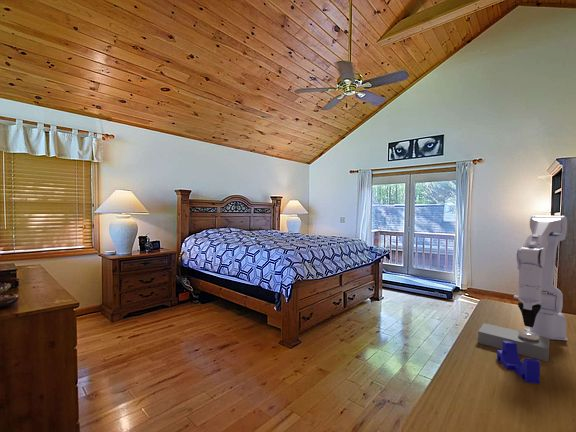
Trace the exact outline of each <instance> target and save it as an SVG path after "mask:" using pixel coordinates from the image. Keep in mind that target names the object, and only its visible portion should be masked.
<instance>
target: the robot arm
mask: <svg viewBox="0 0 576 432" xmlns="http://www.w3.org/2000/svg"><path fill="white" fill-rule="evenodd" d="M529 229H530V232H531V235H529V236H527V238H526V240H525V242H524V244H523V246H522V247H521V248H518V249H517V252H516V263H517V269H518V293H517V294H518V295H516V294H514V295H513V299H517V300H518V304H517V307H518V309H519V310H520V312H521V316H522V320H523V325H524V326H525V328H523V331H530V332H533V333H536V334H538V335H539V336H542V337H547V338H549V340H555V341H556V340H557V341H568V338H567V320H566V316H565V315H564V314H563V313H562V311H563V305H564V302H563V301H564V299H563V298H564V297H563V296H564V295H563V292H562V291H561V290H560V289H559V288H557V286H555V285H554V279H555V278H554V277H555V270H556V259H557V258H556V257H557V248H558V245H559V242H561V241H565V240H566V237H567V232H568V231H567V230H568V218H567V216H565V215H535V214H533V215H531V216H530V219H529ZM527 327H529V328H527Z"/></svg>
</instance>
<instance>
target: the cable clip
mask: <svg viewBox="0 0 576 432" xmlns="http://www.w3.org/2000/svg"><path fill="white" fill-rule="evenodd" d="M519 355H520V354H518V352H517V344H516V343H515V342H513V341H503V349H496V360H497V361H498V362H499V363H500V364H501V365H502V366H503V367H504V368H505V369H506V370H508V371H514V372H515V373H516V374H517V375H518V376H519V377H520V378H521V379H522V380H524V382H525V383H528V384H538V385H540V375H541V374H540V371H541V363H540V361H539V359H536V358H529V357H523V361H522V360H521V358H520V356H519Z"/></svg>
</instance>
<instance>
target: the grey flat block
mask: <svg viewBox="0 0 576 432" xmlns="http://www.w3.org/2000/svg"><path fill="white" fill-rule="evenodd" d="M519 331H520V330H516V329H511V328H507V327H502V326H499V325H494V324H489V323H483V324H482V325H481V327H480V328H479V329H478V331H477V333H478V335H477V336H478V337H477V342H478V344H481V345H485V346H488V347H492V348H495V349H498V350H503V341H513V342H515V343H516V344H517V352H518V355H521V356H525V357H527V358H529V357H530V358H531V359H537V360H538V361H539V360H540V361H544V362H546V363H548V362H549V358H550V357H549V356H550V355H549V354H550V339H549V338H547V337H542V336H539V341H538V342H530V341H526V340H523V339H521V338H519V337H518V332H519Z"/></svg>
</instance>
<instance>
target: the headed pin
mask: <svg viewBox="0 0 576 432" xmlns="http://www.w3.org/2000/svg"><path fill="white" fill-rule="evenodd" d="M518 331H519V332H518V337H519V338H521V339H523V340H526V341H530V342H538V341H539V335H538V334H536V333H533V332H530V331H526V330H524V329H523V330H521V329H520V330H518Z"/></svg>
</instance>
